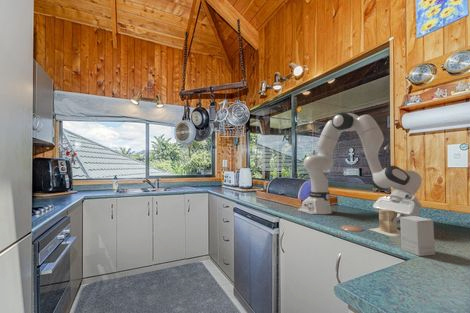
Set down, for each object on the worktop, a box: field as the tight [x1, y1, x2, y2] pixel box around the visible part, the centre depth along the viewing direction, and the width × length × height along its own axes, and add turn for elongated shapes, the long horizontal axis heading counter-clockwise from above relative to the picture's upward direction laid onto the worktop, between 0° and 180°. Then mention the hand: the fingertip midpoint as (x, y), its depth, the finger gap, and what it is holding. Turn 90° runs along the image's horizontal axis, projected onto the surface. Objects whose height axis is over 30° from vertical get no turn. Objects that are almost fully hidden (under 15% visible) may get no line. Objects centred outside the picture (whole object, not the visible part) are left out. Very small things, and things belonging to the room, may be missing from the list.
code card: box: [368, 227, 401, 237], centre depth 111 cm, size 12×12×1 cm
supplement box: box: [399, 215, 436, 257], centre depth 87 cm, size 7×7×13 cm
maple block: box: [378, 209, 398, 233], centre depth 112 cm, size 5×5×10 cm
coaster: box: [340, 224, 364, 233], centre depth 117 cm, size 10×10×1 cm
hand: (386, 220), depth 111 cm, fingers closed on maple block, 5 cm apart
